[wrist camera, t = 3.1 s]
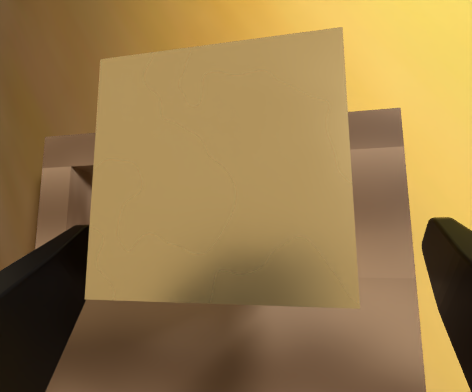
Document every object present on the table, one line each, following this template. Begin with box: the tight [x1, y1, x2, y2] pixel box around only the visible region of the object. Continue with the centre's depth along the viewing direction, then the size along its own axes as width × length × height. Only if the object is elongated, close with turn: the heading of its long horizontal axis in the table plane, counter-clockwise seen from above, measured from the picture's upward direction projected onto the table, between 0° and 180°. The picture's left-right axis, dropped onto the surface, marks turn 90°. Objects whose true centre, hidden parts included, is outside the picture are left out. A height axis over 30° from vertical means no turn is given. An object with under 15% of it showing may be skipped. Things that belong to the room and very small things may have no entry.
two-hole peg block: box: [35, 108, 426, 392], centre depth 15 cm, size 16×18×3 cm
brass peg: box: [85, 27, 360, 309], centre depth 11 cm, size 4×4×12 cm
